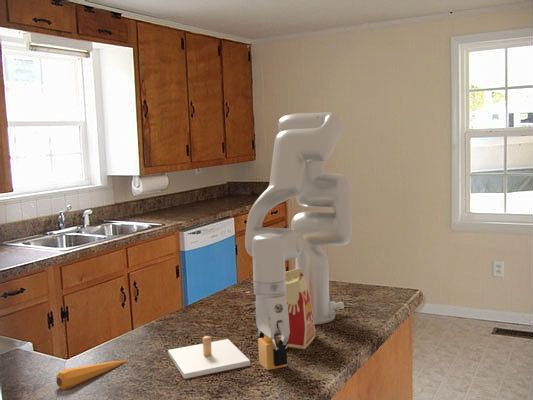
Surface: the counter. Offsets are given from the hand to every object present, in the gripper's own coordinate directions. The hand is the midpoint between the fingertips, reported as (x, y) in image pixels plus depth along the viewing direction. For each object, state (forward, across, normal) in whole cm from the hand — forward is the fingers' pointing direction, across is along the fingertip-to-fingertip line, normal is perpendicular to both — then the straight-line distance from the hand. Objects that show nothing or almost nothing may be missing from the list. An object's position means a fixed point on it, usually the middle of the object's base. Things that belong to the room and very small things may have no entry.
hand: (272, 357), depth 134 cm
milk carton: (+2, +11, -11) cm, 16 cm away
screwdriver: (+2, +46, -20) cm, 51 cm away
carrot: (+2, +14, +39) cm, 41 cm away
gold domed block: (+2, 0, 0) cm, 2 cm away
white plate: (+2, +10, +13) cm, 16 cm away
